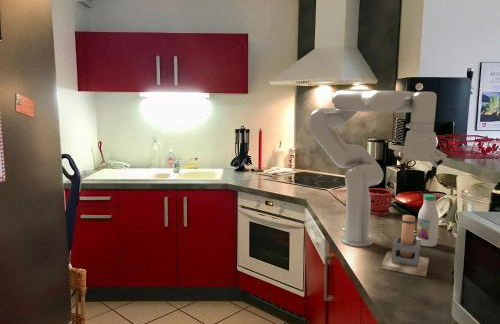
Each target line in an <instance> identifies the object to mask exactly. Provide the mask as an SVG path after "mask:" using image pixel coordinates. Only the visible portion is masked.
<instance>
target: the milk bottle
mask: <svg viewBox="0 0 500 324" xmlns="http://www.w3.org/2000/svg"><path fill="white" fill-rule="evenodd" d="M422 198H423V204H422V206H421V207H420V209H419V212H418V216H417V226H416V236H415V238H416V239H417V240H421V246H423V247H436V246H437V244H438V235H439V223H440V222H439V221H440V219H439V218H440V217H439V211H438V209H437V206H436V201H437V196H436V195H434V194H430V193H429V194H427V193H426V194H423V197H422Z"/></svg>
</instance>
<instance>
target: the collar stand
mask: <svg viewBox="0 0 500 324" xmlns="http://www.w3.org/2000/svg"><path fill="white" fill-rule="evenodd" d="M421 248H422V245H421V240H417V239H415V238H414V241H413V245H407V244H401V236H395V237H394V239H393V242H392V247H391V251H390V250H389V251H387V252H386V253H385V256H384V258H383V260H382V262H381V264H380V265H381V267H380V268H381V269H383V270H387V271H393V272H399V273H403V274H404V273H405V274H410V275H414V276H415V275H416V276H420V277H427V273H428V267H429V264H430V263H429V262H430V258H429V257H426V256H425V257H424V256H421ZM400 250H401V251H407V252H413V254H412V258H408V257H402V256H400Z"/></svg>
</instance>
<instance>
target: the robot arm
mask: <svg viewBox="0 0 500 324" xmlns="http://www.w3.org/2000/svg"><path fill="white" fill-rule="evenodd" d="M331 103H332V106H333V107H321V108H317V109H315V110H313V111H312V112H311V114H310V115H309V118H308V128H309V131H310V134H311V136H312V137H313V138H314V140H315V141H316V142H317V143H318V144H319V145H320V146H321V147H322V149H323V150H324V152H325V153H326V155H328V157H329V158H330V159H331V160H332V162H333V163H334V164H335V166H336V167H338V168H340V169H347V170H346V172H345V174H344V183H345V189H346V191H345V192H346V194H345V195H346V197H345V199H346V200H345V222H344V223H345V224H344V226H345V227H343V228H342V229H341V230H342V231H343V232H344V233H343V235H341V237H340V242H341V243H343V244H344V245H348V246H350V247H360V248H361V247H369V246H372V245H373V244H374V243H373V238H371V237H370V227H371V226H370V222H371V214H370V208H371V197H370V193H369V189H370V188H371V187H374V186H375V187H376V186H377V185H379V184H380V183H382V181H383V179H384V171H383V169H382V167H381V165H380V164H379V163H378V162H377V160H376V159H374V157H373V156H372V155H371V154H370V153H369V152H368V150H367V149H366V148H365V147H363V146H362V145H359V144H356V143H355V144H347V143H346V141H344V140H343V139H342V138H341V136H340V135H339V134H338V133H337V132H336V131H334V130H332V128H333V129H337V128H340V127H342V126H344V125H345V124H347V122H349V121H350V120H351V119H352V118H353V117H354V116H355V115H356V114H357V113H358V112H365V113H370V112H375V113H376V112H378V113H379V112H381V113H410V121H409V123H406V124H405V128H408V129H409V130H407V132H406V136H405V139H404V146H403V147H400V148H397V149H396V150H395V149H394V150H393V154H394V156H395V159H396V160H397V161H398V162H399V164H400V170H399V173H400V174H401V176H404V175H406V168H407V167H406V165H407V163H406V162H407V160H408V161H419V162H428V163H429V162H430V164H431V171H430V179H434V177H436V176H437V168H438V166H441V164H443V163H444V161H445V160H446V159H447V157H448V154H446V153H444V152H442V151H440V150H439V149H437V136H436V135H437V134H436V131H434V129H435V121H436V120H435V119H436V110H437V109H436V108H437V94H436V93H435V92H433V91H416V92H415V91H407V90H374V89H373V90H372V89H350V88H348V89H346V88H345V89H339V90H337V91H336V92H334V93H333V95H332V98H331ZM401 152H403V153H402V154H403V156H401V155H400V153H401ZM436 155H437V156H440V159H438V161H437V160H436Z"/></svg>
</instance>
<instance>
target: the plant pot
mask: <svg viewBox="0 0 500 324" xmlns="http://www.w3.org/2000/svg"><path fill="white" fill-rule="evenodd" d="M369 193H370V197H371V208H370V215H374V216H386V215H388V214H390V207H391V205H392V201H393V191H392V190H390V189H386V188H385V189H384V188H379V187H378V188H376V187H374V188H373V187H372V188H371V187H370V188H369Z"/></svg>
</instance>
